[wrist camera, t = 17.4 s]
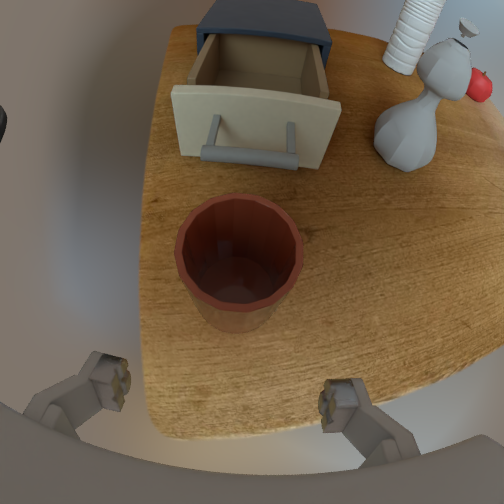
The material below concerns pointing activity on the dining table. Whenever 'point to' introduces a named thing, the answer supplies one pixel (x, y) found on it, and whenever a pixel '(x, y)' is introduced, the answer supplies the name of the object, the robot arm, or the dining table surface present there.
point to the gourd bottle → (425, 104)
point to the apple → (479, 86)
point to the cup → (238, 260)
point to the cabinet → (267, 22)
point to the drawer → (256, 103)
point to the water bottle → (411, 34)
